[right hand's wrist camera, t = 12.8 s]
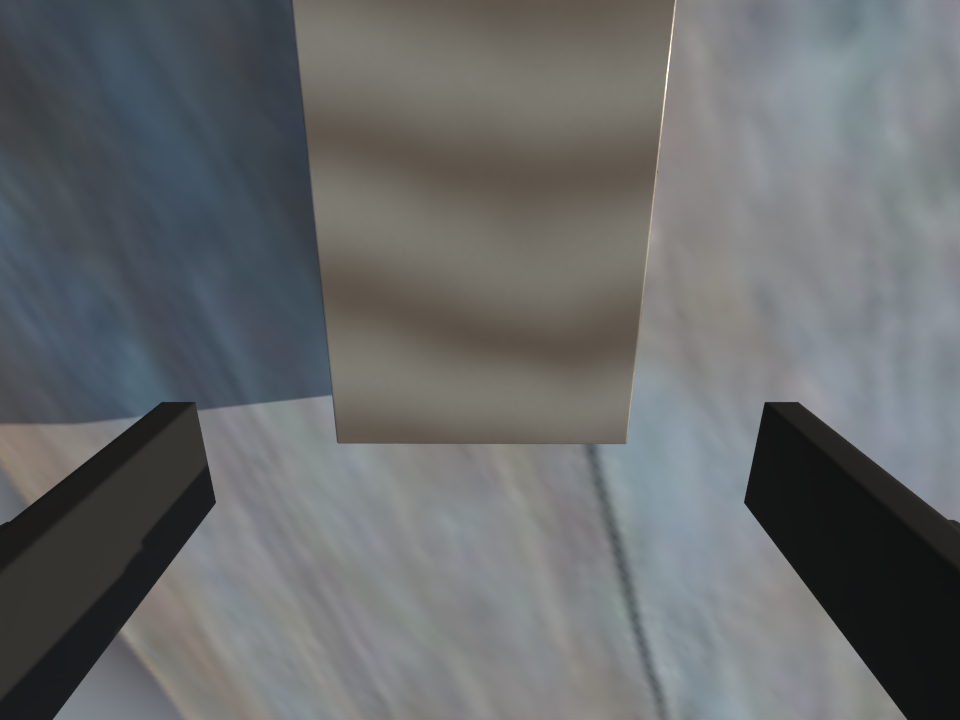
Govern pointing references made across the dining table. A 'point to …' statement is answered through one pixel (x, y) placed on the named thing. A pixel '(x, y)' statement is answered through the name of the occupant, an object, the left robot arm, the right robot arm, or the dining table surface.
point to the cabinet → (483, 211)
